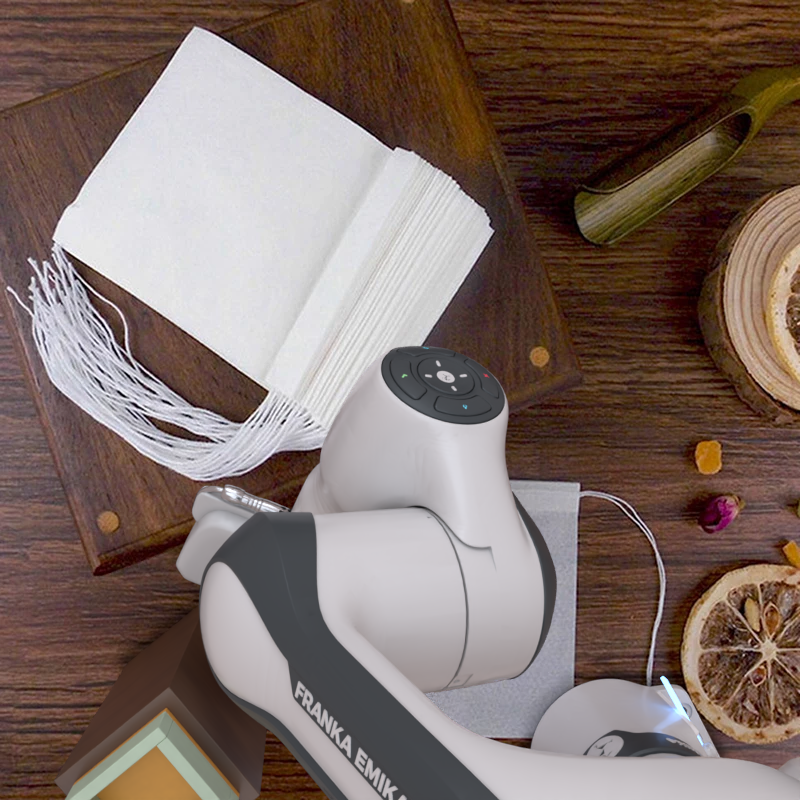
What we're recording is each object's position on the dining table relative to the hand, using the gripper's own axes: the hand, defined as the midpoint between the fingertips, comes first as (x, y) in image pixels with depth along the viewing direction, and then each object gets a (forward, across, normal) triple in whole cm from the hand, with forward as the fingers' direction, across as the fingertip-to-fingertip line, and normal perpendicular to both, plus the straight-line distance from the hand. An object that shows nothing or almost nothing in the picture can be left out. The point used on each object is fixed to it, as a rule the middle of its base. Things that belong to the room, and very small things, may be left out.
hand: (295, 641), depth 73 cm
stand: (+17, -6, +4) cm, 19 cm away
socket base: (-1, -5, -14) cm, 15 cm away
